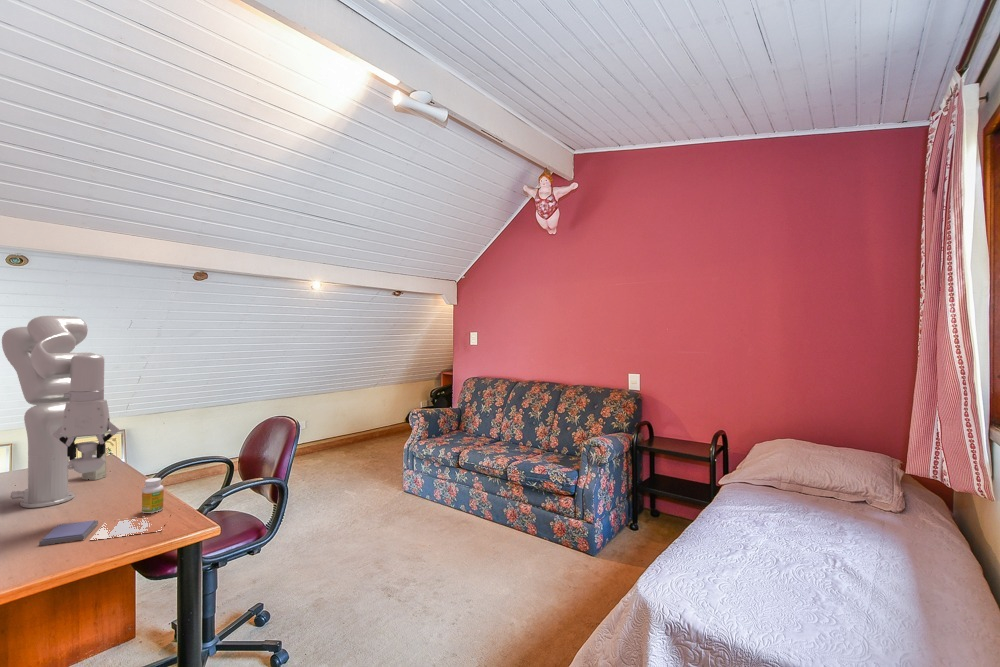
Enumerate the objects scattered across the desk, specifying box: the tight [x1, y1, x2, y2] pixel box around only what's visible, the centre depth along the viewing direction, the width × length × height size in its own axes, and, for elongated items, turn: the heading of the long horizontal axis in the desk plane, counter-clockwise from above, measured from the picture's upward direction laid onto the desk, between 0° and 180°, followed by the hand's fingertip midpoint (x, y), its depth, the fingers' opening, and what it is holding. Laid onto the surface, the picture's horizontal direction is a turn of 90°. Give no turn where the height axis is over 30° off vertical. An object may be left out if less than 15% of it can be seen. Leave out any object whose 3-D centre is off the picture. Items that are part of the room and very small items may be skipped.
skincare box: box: [80, 444, 107, 481], centre depth 178 cm, size 6×4×12 cm
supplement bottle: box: [141, 477, 165, 514], centre depth 148 cm, size 5×5×10 cm
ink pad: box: [39, 519, 99, 547], centre depth 130 cm, size 9×11×2 cm
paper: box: [89, 518, 162, 541], centre depth 136 cm, size 16×14×1 cm
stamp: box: [67, 440, 107, 474], centre depth 140 cm, size 9×7×8 cm
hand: (86, 457), depth 140 cm, fingers closed on stamp, 5 cm apart
